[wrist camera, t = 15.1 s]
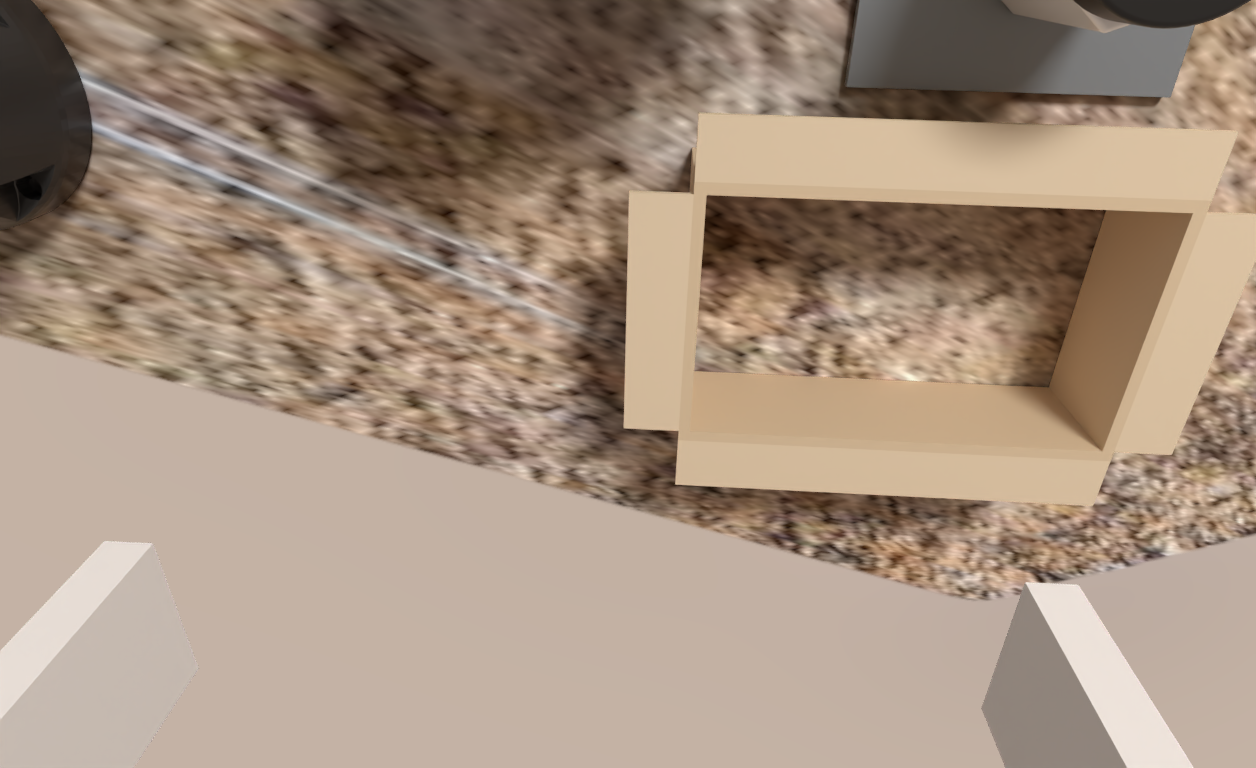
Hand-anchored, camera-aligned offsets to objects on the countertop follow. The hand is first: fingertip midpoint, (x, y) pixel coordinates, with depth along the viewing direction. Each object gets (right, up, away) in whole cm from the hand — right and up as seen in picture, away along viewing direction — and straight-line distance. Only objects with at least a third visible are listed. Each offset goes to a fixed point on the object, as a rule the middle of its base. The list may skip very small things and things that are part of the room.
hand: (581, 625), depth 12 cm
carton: (+16, +10, +33) cm, 38 cm away
